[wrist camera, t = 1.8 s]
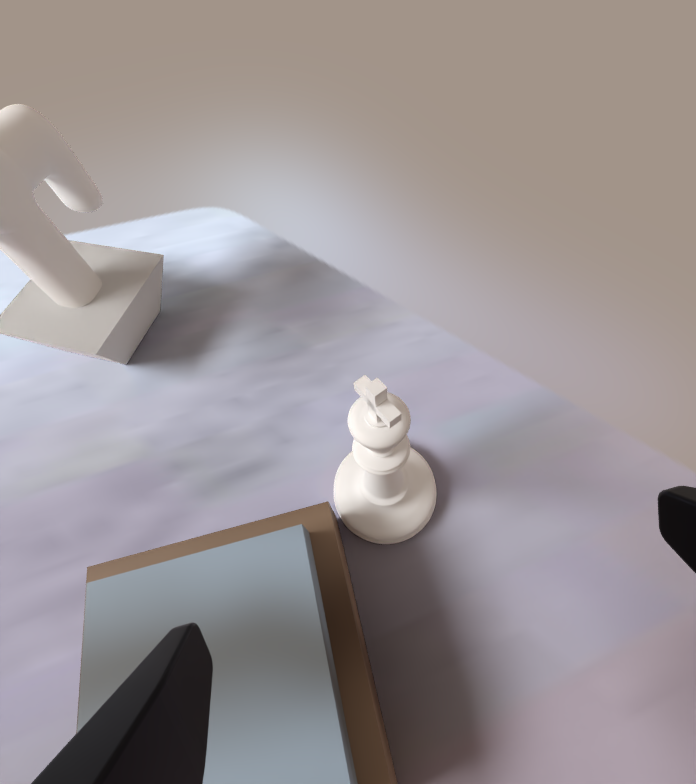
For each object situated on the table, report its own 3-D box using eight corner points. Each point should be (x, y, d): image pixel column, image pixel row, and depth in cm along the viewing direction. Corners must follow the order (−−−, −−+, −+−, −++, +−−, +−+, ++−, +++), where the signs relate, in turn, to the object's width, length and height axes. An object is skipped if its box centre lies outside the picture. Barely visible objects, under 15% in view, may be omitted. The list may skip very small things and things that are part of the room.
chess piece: (391, 425, 22) (388, 292, 13) (458, 499, 20) (506, 396, 11) (314, 482, 21) (257, 377, 12) (376, 567, 19) (359, 512, 10)
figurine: (197, 285, 29) (31, -4, 16) (124, 406, 24) (-187, 147, 11) (108, 270, 30) (-110, -4, 17) (25, 381, 26) (-347, 129, 13)
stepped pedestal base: (400, 795, 15) (402, 852, 11) (122, 878, 15) (23, 968, 11) (336, 518, 20) (322, 490, 16) (128, 575, 20) (62, 561, 16)
